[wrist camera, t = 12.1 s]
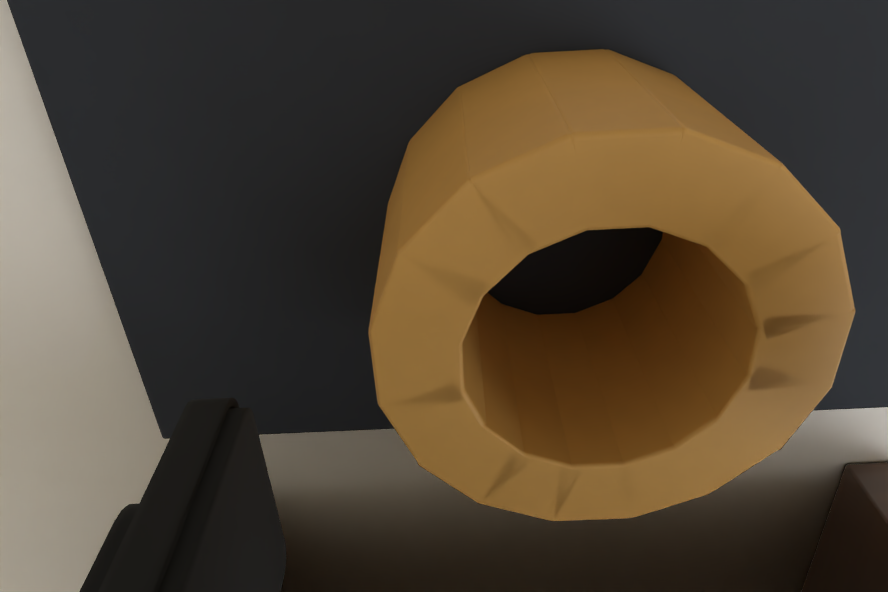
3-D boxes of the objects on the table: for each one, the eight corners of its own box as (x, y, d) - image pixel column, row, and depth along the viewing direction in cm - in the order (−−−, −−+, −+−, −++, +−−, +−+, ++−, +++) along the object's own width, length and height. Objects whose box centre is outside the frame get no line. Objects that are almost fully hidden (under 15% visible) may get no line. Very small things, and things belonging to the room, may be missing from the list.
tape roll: (404, 368, 16) (393, 529, 12) (373, 60, 13) (342, 145, 9) (704, 354, 16) (794, 513, 12) (762, 39, 13) (918, 116, 8)
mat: (169, 424, 18) (162, 439, 18) (13, -33, 12) (-6, -29, 12) (931, 390, 18) (946, 405, 17) (1131, -97, 12) (1163, -96, 11)
